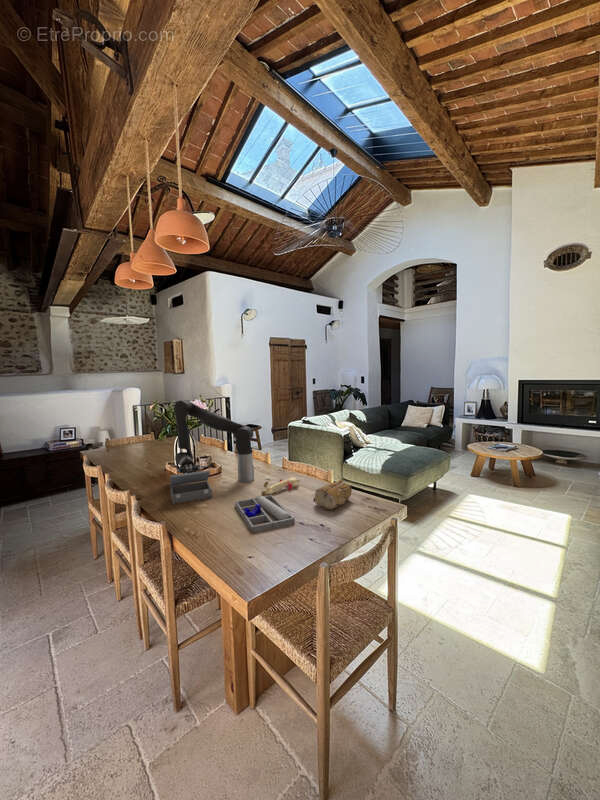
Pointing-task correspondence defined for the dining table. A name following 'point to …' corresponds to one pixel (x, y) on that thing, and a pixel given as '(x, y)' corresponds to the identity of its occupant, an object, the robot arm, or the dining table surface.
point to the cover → (189, 478)
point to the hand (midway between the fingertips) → (190, 473)
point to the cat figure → (280, 485)
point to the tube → (272, 508)
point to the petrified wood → (332, 495)
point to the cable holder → (254, 512)
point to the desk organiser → (262, 515)
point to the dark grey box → (190, 492)
